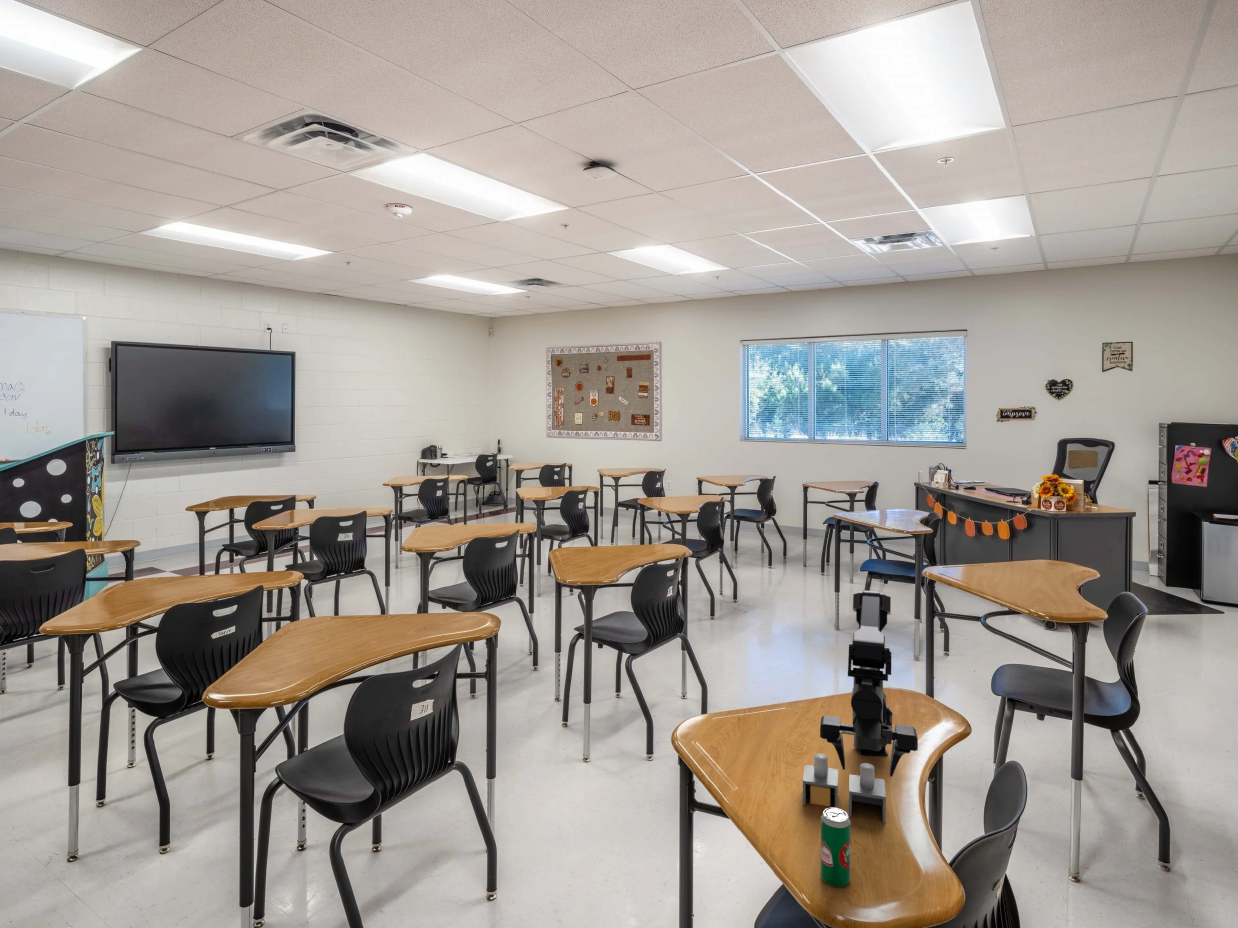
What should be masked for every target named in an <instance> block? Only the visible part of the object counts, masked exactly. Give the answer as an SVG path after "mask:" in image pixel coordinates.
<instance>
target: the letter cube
mask: <svg viewBox="0 0 1238 928" xmlns="http://www.w3.org/2000/svg"><path fill="white" fill-rule="evenodd" d="M831 796H832V794H831V788H830V787H824V786H817V785H810V797H809V798H810V803H809V804H814V805H818V806H819V805H820V806H825V807H831V799H832V797H831Z"/></svg>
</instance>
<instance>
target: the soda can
mask: <svg viewBox="0 0 1238 928" xmlns="http://www.w3.org/2000/svg"><path fill="white" fill-rule="evenodd" d="M851 823H852V821H851V819H850V817H849V813H847V812H846V811H845V810H843V809H841V808H835V807H827V808H825V809H824V810H823V811H822V815H821V816H820V877H821V878H822V880H823V881H824V882H825V884H826V885H827V884H828V886H831V887H834V888H844V887H845V886H846V885H848V884H849V883H850V881H851V856H852V855H851V843H852V841H851V840H852V839H851V837H852V835H851V834H852V831H851V830H852V825H851Z"/></svg>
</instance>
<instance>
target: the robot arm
mask: <svg viewBox="0 0 1238 928" xmlns="http://www.w3.org/2000/svg"><path fill="white" fill-rule="evenodd" d="M852 595H853V597H852V610H853V612H854V613H856V614H855V616H856V617H855V621H856V623H857V625H858V626H859V629H858V630H856V631H854V632H853V636H852V642H849V643H848V656H847V658H848V661H847V663H848V664H847V677H850V678H853V688H852V693H851V698H850V705H851V709H852V724H848V723H841V717H840V716H832V715H822V716H821V718H820V726H819V730H820V731H819V737H820V738H822V739H824V740H826V742H827V743H829V744H832V746H833V747H834V749H835V751H836V754H837V756H838V759H839V762H840V766H841V768H842V770H843V771H845V770H846V759H845V757H846V756H845V750H844V739H843V734H844V735H852V736H853V744H854V746H855V748H856V749H857V750H858V752H859V754H861V755H862V756H889V752H888V750H887V748H886V747H887V746H888V745H892V746H891V747H892V748H891V755H890V763H889V777H892V778H893V776H894V773H895V771H896V768H897V766H898V764H899V761H900V760H901V758H902V756H904V755H905V754H911V751H913V752H916V751H918V749H919V741H918V740H919V739H918V733H917V730H916V728H915V726H912V725H905V724H897V723H895V725H894V726H895V729H893V712H892V711H891V708H890V705H887V695H886V693H885V692H884V682H888V681H889V676H891V675H892V652H891V650H890V647H889V646H887V645H886V644H885V643H886V636H885V635H884V634H883V633H882V631H883V629H885V627H886V626H887V625H888V615H889V616H890V615H891V613H892V612H891V609H892V608H891V603H892V600H891V599H892V598H891V596H889V595H886V594H884V593H883V592H881V591H879V590H878V591H875V590H861V591H859V592H857V593H853V594H852ZM852 666H854V667H852Z"/></svg>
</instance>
